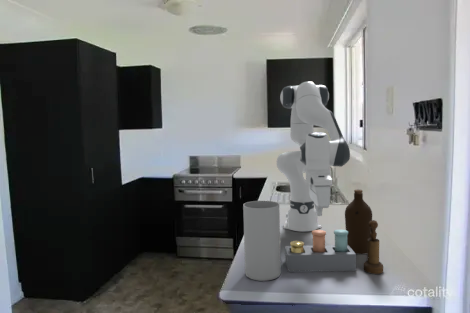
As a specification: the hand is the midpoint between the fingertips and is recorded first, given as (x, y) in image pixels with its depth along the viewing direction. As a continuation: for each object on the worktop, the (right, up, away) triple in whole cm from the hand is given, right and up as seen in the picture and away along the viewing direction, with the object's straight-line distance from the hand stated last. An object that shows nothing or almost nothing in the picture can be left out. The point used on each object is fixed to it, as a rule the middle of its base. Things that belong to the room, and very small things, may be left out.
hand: (318, 215), depth 134 cm
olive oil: (+20, -17, +17) cm, 32 cm away
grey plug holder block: (+1, -19, +2) cm, 19 cm away
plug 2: (0, -14, +1) cm, 14 cm away
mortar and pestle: (+18, -19, -4) cm, 27 cm away
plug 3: (+8, -14, +1) cm, 16 cm away
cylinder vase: (-21, -20, -4) cm, 29 cm away
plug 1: (-7, -18, +2) cm, 20 cm away
